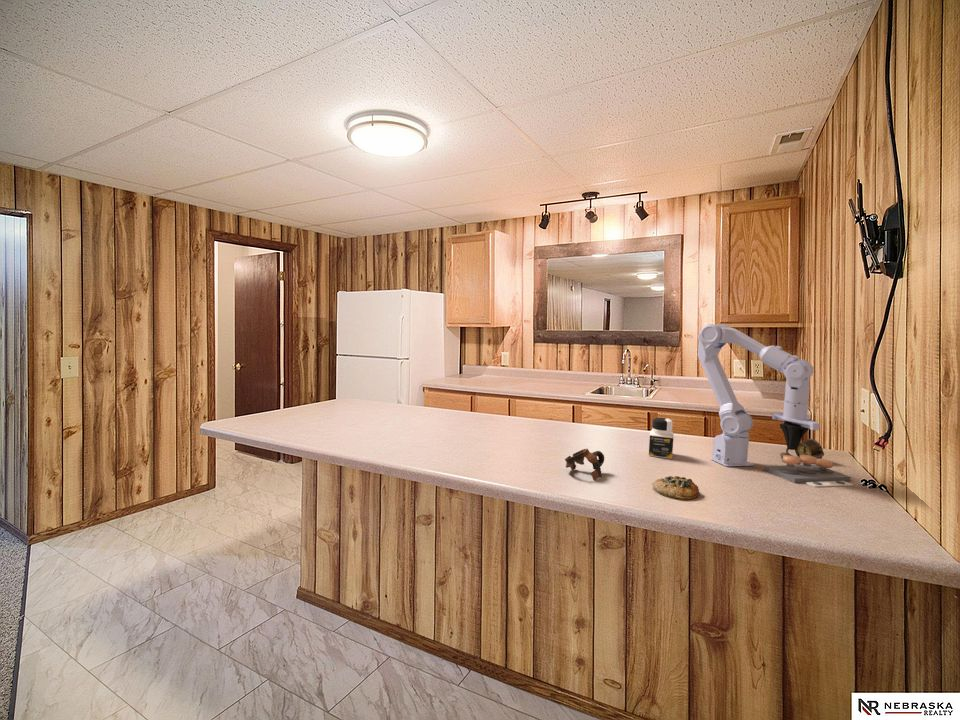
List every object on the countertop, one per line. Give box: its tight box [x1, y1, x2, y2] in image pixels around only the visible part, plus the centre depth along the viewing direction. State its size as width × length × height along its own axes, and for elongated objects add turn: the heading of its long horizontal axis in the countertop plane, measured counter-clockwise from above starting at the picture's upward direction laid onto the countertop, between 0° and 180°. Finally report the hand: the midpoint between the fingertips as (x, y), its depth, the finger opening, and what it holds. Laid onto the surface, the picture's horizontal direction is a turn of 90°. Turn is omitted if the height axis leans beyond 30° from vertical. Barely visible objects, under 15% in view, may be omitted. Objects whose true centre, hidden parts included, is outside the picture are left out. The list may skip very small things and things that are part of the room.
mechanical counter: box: [779, 438, 825, 460], centre depth 153 cm, size 7×13×10 cm
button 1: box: [782, 455, 800, 467], centre depth 137 cm, size 4×4×3 cm
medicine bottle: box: [648, 417, 675, 460], centre depth 155 cm, size 7×7×12 cm
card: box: [805, 481, 854, 488], centre depth 131 cm, size 12×3×1 cm, turn 99°
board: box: [764, 464, 852, 484], centre depth 138 cm, size 18×11×2 cm, turn 99°
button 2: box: [814, 458, 833, 470], centre depth 139 cm, size 4×4×3 cm
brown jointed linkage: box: [564, 448, 605, 481], centre depth 135 cm, size 12×10×8 cm
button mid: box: [798, 455, 816, 467], centre depth 138 cm, size 4×4×3 cm
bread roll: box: [651, 475, 700, 501], centre depth 122 cm, size 11×11×5 cm
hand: (792, 449), depth 137 cm, fingers closed
